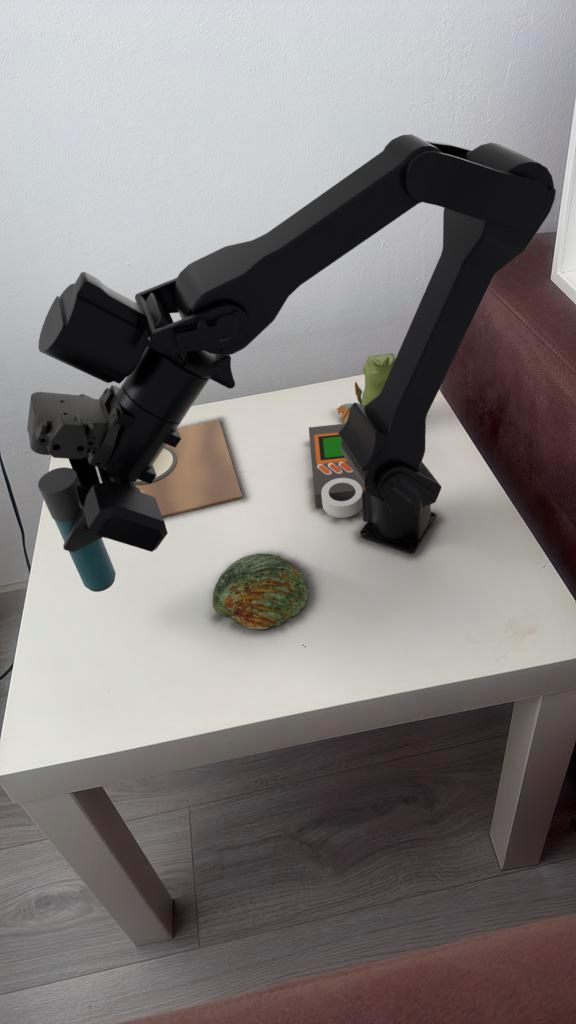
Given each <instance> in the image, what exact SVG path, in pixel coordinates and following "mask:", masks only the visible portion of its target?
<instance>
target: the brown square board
mask: <svg viewBox="0 0 576 1024" xmlns="http://www.w3.org/2000/svg"><path fill="white" fill-rule="evenodd" d="M177 430H178V432H179V434H180V436H181V440H180V442H179V443H178V444H177V446H176V447H172V446H170V445H168V444H166V445H165V447H164V448H163V450H162V451H161V453H160V454H159V456H158V457H157V459H156V460H155V462H154V463H153V467H154V470H155V472H156V475H157V476H156V477H155V479H154V480H153V482H152V483H151V484H149V483H146V482H144V481H141V480H138V479H137V481H136V482H135V485H136V487H137V488H139V489H140V490H142V491H143V493H145V494H147V495H150V496H153V497H155V498H156V501H157V504H158V506H159V509H160V512H161V515H162V517H163V518H165V517H169V516H173V515H178V514H182V513H186V512H190V511H194V510H198V509H202V508H203V509H204V508H207V507H210V506H211V507H212V506H215V505H218V504H223V503H226V502H231V501H236V500H239V499H242V498H243V493H242V491H241V488H240V484H239V482H238V477H237V475H236V471H235V468H234V465H233V462H232V459H231V454H230V451H229V447H228V445H227V442H226V438H225V436H224V432H223V428H222V425H221V422H220V419H218V418H217V419H213V420H210V421H206V422H205V421H204V422H201V423H197V424H193V425H192V424H191V425H187V426H184V427H179V428H177Z"/></svg>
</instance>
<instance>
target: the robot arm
mask: <svg viewBox="0 0 576 1024" xmlns="http://www.w3.org/2000/svg"><path fill="white" fill-rule="evenodd" d="M556 195H557V189H556V188H555V185H554V180H553V176H552V174H551V172H550V170H549V169H548V167H547V166H545V165H543V164H541V163H540V162H538V161H536V160H534V159H532V158H530V157H528V156H526V155H524V154H521V153H519V152H518V151H516V150H513V149H511V148H509V147H507V146H506V145H503V144H501V143H497V142H488V143H483V144H480V145H478V146H477V147H475V148H474V149H469V148H465V147H461V146H457V145H453V144H450V143H444V142H436V141H430V140H424V139H422V138H421V137H419V136H417V135H416V136H415V135H413V134H402V135H399V136H397V137H395V138H393V139H391V140H390V141H389V142H388V143H387V144H385V147H384V148H383V150H382V151H381V152H379V153H378V154H377V155H374V157H372V158H371V159H369V160H368V161H366V162H365V163H364V164H362V165H361V166H360V167H358V168H357V169H355V170H354V171H352V172H351V173H350V174H348V175H347V176H345V177H344V178H342V179H341V180H339V181H338V182H337V183H336V184H334V185H333V186H331V187H330V188H328V189H327V190H326V191H324V192H323V193H321V194H320V195H318V196H317V197H316V198H314V199H313V200H312V201H310V202H309V203H307V204H306V205H304V206H302V207H301V208H300V209H299V210H297V211H296V212H294V213H293V214H292V215H290V216H289V217H287V218H286V219H285V220H283V221H281V222H280V223H279V224H278V225H276V226H275V227H274V228H272V229H270V230H269V231H267V232H266V233H264V234H262V235H260V236H258V237H256V238H254V239H252V240H247V241H243V242H239V243H233V244H229V245H226V246H222V247H221V248H219V249H217V250H214V251H213V252H211V253H208V254H207V255H204V256H203V257H200V258H199V259H197V260H194V261H192V262H191V263H189V264H187V266H186V267H184V268H183V269H182V270H181V271H180V272H179V273H178V275H177V277H175V278H173V279H170V280H168V281H165V282H163V283H160V284H158V285H154V286H152V287H150V288H148V289H145V290H143V291H140V292H138V293H136V294H135V295H134V300H135V301H134V300H132V299H130V298H128V297H126V296H125V295H123V294H121V293H119V292H117V291H115V290H114V289H112V288H110V287H108V286H107V285H105V283H104V282H102V281H101V280H100V279H99V278H97V277H96V276H93V275H92V274H90V273H89V272H86V271H82V272H80V273H79V275H78V277H77V279H76V281H75V282H74V283H71V284H69V285H68V286H67V287H66V288H64V290H63V291H62V292H61V294H60V296H59V295H56V296H55V298H54V300H53V302H52V303H51V306H50V307H49V308H48V309H49V310H48V312H47V315H46V316H45V318H44V321H43V324H42V327H41V330H40V334H39V338H38V350H39V353H42V354H43V355H46V356H48V357H50V358H52V359H55V360H57V361H59V362H61V363H64V364H65V365H67V366H69V367H71V368H74V369H76V370H78V371H80V372H82V373H85V374H87V375H89V376H90V377H93V378H96V379H98V380H100V381H102V382H104V383H106V384H110V383H113V382H114V383H117V384H121V383H122V382H123V383H122V385H121V386H120V387H118V386H116V385H114V384H111V385H110V387H109V388H108V387H106V388H105V389H104V391H103V392H102V393H101V395H100V396H99V398H93V397H91V396H89V395H86V394H84V393H81V394H70V393H59V392H48V391H35V392H32V393H31V395H30V400H29V410H28V418H27V427H26V431H27V432H28V433H27V434H28V438H29V447H30V449H31V451H33V452H34V453H36V454H39V455H43V456H51V457H52V458H54V459H67V460H68V462H69V464H70V466H71V467H70V468H71V469H73V470H75V471H76V473H77V475H78V477H79V480H80V482H81V485H82V487H81V486H78V485H75V489H76V494H77V498H78V502H79V505H80V508H79V510H78V512H77V515H76V517H75V519H74V521H73V523H72V526H71V528H70V530H69V532H68V534H67V537H66V540H65V542H64V541H63V542H64V543H63V545H62V548H63V550H64V551H67V552H69V551H70V552H75V551H77V550H79V549H81V548H83V547H85V546H87V545H89V544H91V543H93V542H95V541H97V540H99V539H100V538H102V539H103V538H105V539H109V540H111V541H114V542H118V543H121V544H124V545H128V546H130V547H131V546H132V547H135V548H138V549H140V550H144V551H148V552H150V553H153V552H154V551H156V550H157V549H158V548H159V546H160V545H161V544H162V542H163V541H164V540H165V538H166V536H168V533H169V532H168V529H167V527H166V524H165V520H164V517H162V515H161V512H160V509H159V506H158V504H157V501H156V498H155V497H153V496H150V495H147V494H145V493H143V491H142V490H140V489H139V488H137V487H136V485H135V482H136V481H137V479H138V480H141V481H144V482H146V483H149V484H151V483H152V482H153V480H154V479H155V477H156V476H157V475H156V472H155V470H154V467H153V463H154V462H155V460H156V459H157V457H158V456H159V454H160V453H161V451H162V450H163V448H164V447H165V445H166V444H168V445H170V446H172V447H176V446H177V444H178V443H179V442H180V440H181V436H180V434H179V432H178V430H177V429H178V427H179V426H180V424H181V423H182V421H183V420H184V418H185V417H186V415H188V412H189V411H190V409H191V407H192V406H193V404H194V403H195V402H196V400H197V399H198V397H199V396H200V394H201V393H202V392H203V390H204V388H205V387H206V385H207V384H208V382H209V381H210V380H211V381H213V382H215V383H217V384H219V385H221V386H223V387H225V388H227V389H230V390H231V389H234V388H235V386H236V382H235V381H236V380H235V379H234V376H233V372H232V366H231V365H232V364H231V362H232V356H231V355H234V354H236V353H238V352H240V351H242V350H244V349H245V348H246V347H248V346H249V344H251V343H252V342H253V341H254V340H255V339H256V338H257V337H258V336H259V335H260V334H262V332H263V331H265V330H266V329H267V328H268V327H269V326H270V325H271V324H272V323H273V322H274V321H275V320H276V318H277V316H278V315H279V313H280V311H281V310H282V309H283V307H284V305H285V303H286V302H287V300H288V299H289V297H290V296H291V295H292V294H293V293H294V292H296V290H297V289H299V287H301V286H302V285H303V284H304V283H306V282H308V281H309V280H311V279H312V278H313V277H315V276H316V275H318V274H319V273H321V272H322V271H323V270H325V269H326V268H328V267H329V266H331V265H332V264H334V263H335V262H336V261H338V260H339V259H341V258H342V257H344V256H345V255H347V254H348V253H350V252H351V251H352V250H354V249H355V248H357V247H358V246H360V245H361V244H362V243H364V242H366V240H368V239H370V238H371V237H372V236H374V235H375V234H377V233H378V232H380V231H381V230H383V229H384V228H385V227H387V226H389V225H390V224H391V223H393V222H394V221H396V220H397V219H399V218H400V217H401V216H403V215H404V214H405V213H407V212H409V211H410V210H412V209H413V208H415V207H416V206H417V205H419V204H422V203H425V204H429V205H433V206H437V207H441V208H443V215H442V216H443V217H442V219H443V220H442V221H443V222H442V250H441V253H440V257H439V258H438V261H437V263H436V266H435V268H434V270H433V272H432V275H431V276H430V279H429V282H428V283H427V286H426V289H425V290H424V292H423V295H422V297H421V299H420V302H419V304H418V306H417V309H416V311H415V313H414V316H413V318H412V321H411V322H410V325H409V326H408V329H407V332H406V334H405V335H404V336H405V337H404V339H403V341H402V342H401V343H402V344H401V346H400V348H399V350H398V353H397V355H396V357H395V361H394V364H393V366H392V368H391V371H390V373H389V375H388V378H387V380H386V382H385V384H384V387H383V389H382V391H381V393H380V394H379V395H378V396H377V397H376V398H374V399H373V400H372V401H370V402H369V403H368V404H366V405H365V406H364V405H362V404H360V403H359V402H353V403H352V404H353V405H352V406H351V408H350V412H349V416H348V419H347V422H346V424H345V425H344V427H343V428H342V429H341V431H340V432H339V433H338V435H339V436H340V438H341V439H342V442H341V450H342V453H343V455H344V457H345V459H346V460H347V462H348V463H349V465H350V466H351V468H352V470H353V471H354V473H355V474H356V476H357V477H358V479H359V480H360V482H361V484H362V485H363V487H364V488H365V490H364V491H363V493H362V508H361V510H362V520H363V522H365V524H364V525H363V527H362V528H361V530H360V531H359V536H360V538H362V539H364V540H367V541H370V542H373V543H377V544H379V545H383V546H385V547H388V548H391V549H394V550H396V551H397V550H398V551H400V552H403V553H407V554H410V555H412V554H415V553H416V552H417V551H418V549H419V547H420V545H421V544H422V542H423V541H424V540H425V537H426V536H427V535H428V533H429V531H430V530H431V529H432V527H433V525H434V524H435V522H436V521H437V514H436V512H433V511H431V510H432V505H433V504H435V503H436V502H437V500H438V497H439V495H440V493H441V490H442V485H441V484H440V483H439V481H438V480H437V479H436V478H435V476H434V475H433V474H432V472H431V471H430V470H429V469H428V467H427V466H426V464H425V463H424V462H423V459H424V456H425V454H426V437H427V436H426V431H427V430H426V429H427V427H426V426H427V425H426V423H427V416H428V413H429V412H430V409H431V407H432V405H433V403H434V401H435V399H436V397H437V395H438V393H439V391H440V388H441V387H442V384H443V383H444V380H445V378H446V376H447V374H448V372H449V370H450V368H451V366H452V364H453V362H454V359H455V357H456V356H457V354H458V351H459V349H460V347H461V345H462V343H463V342H464V338H465V337H466V335H467V333H468V331H469V328H470V327H471V325H472V322H473V320H474V318H475V317H476V314H477V312H478V310H479V307H480V306H481V304H482V302H483V300H484V297H485V296H486V293H487V292H488V289H489V288H490V285H491V284H492V281H493V279H494V278H495V276H496V274H497V273H498V272H500V271H501V270H502V269H503V268H505V266H507V265H508V264H510V263H511V262H512V261H513V260H515V259H516V258H517V257H518V256H520V255H521V254H522V253H524V252H525V251H526V250H527V248H529V247H528V246H529V245H530V243H531V242H532V241H533V239H534V238H535V236H536V235H537V233H538V232H539V230H540V228H541V227H542V225H543V224H544V222H545V221H546V220H547V218H548V217H549V215H550V213H551V210H552V208H553V205H554V203H555V200H556ZM171 314H179V316H180V319H179V320H176V321H174V320H173V317H172V316H171Z"/></svg>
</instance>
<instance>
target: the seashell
mask: <svg viewBox="0 0 576 1024" xmlns="http://www.w3.org/2000/svg"><path fill="white" fill-rule="evenodd" d="M304 578H305V576H304V574H303V573H302V572H301V569H299V568H298V567H296V566H295V565H294V564H292V562H290V561H289V560H288V559H285V558H282V557H281V556H280V555H276V554H272V553H254V554H250V555H249V554H248V555H246V556H242V557H241V558H239V559H237V560H236V561H233V563H231V564H230V565H229V566H228V567H227V568H226V569H225V570H224V571H223V572H222V573H221V575H220V576H219V578H218V580H217V582H216V583H215V586H214V589H213V593H212V606H213V609H214V611H215V613H216V615H217V616H219V617H227V618H231V619H234V623H236V624H238V625H240V626H242V627H245V628H247V629H252V630H268V629H270V628H272V627H274V626H281V625H282V623H284V622H287V621H290V618H291V617H295V616H297V615H298V614H299V613H300V611H301V609H303V608H304V607H305V606H306V605H307V600H308V597H309V595H308V592H309V588H308V586H307V584H308V583H307V581H306V580H305V579H304Z"/></svg>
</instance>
